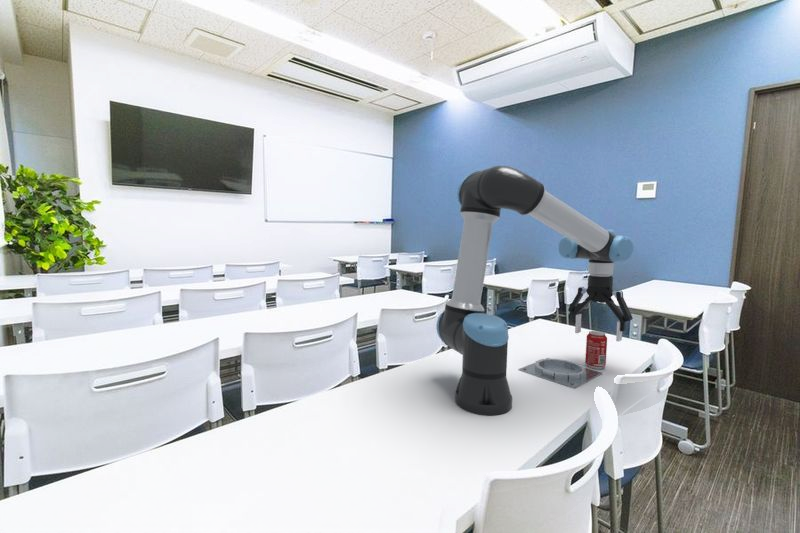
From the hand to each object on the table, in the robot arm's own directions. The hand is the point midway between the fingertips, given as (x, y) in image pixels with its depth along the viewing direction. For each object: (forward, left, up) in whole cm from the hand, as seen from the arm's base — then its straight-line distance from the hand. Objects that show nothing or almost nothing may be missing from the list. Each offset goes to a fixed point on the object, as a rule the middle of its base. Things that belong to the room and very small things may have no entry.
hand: (597, 336), depth 133 cm
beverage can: (0, 0, -11) cm, 11 cm away
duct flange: (-15, +5, -11) cm, 19 cm away
